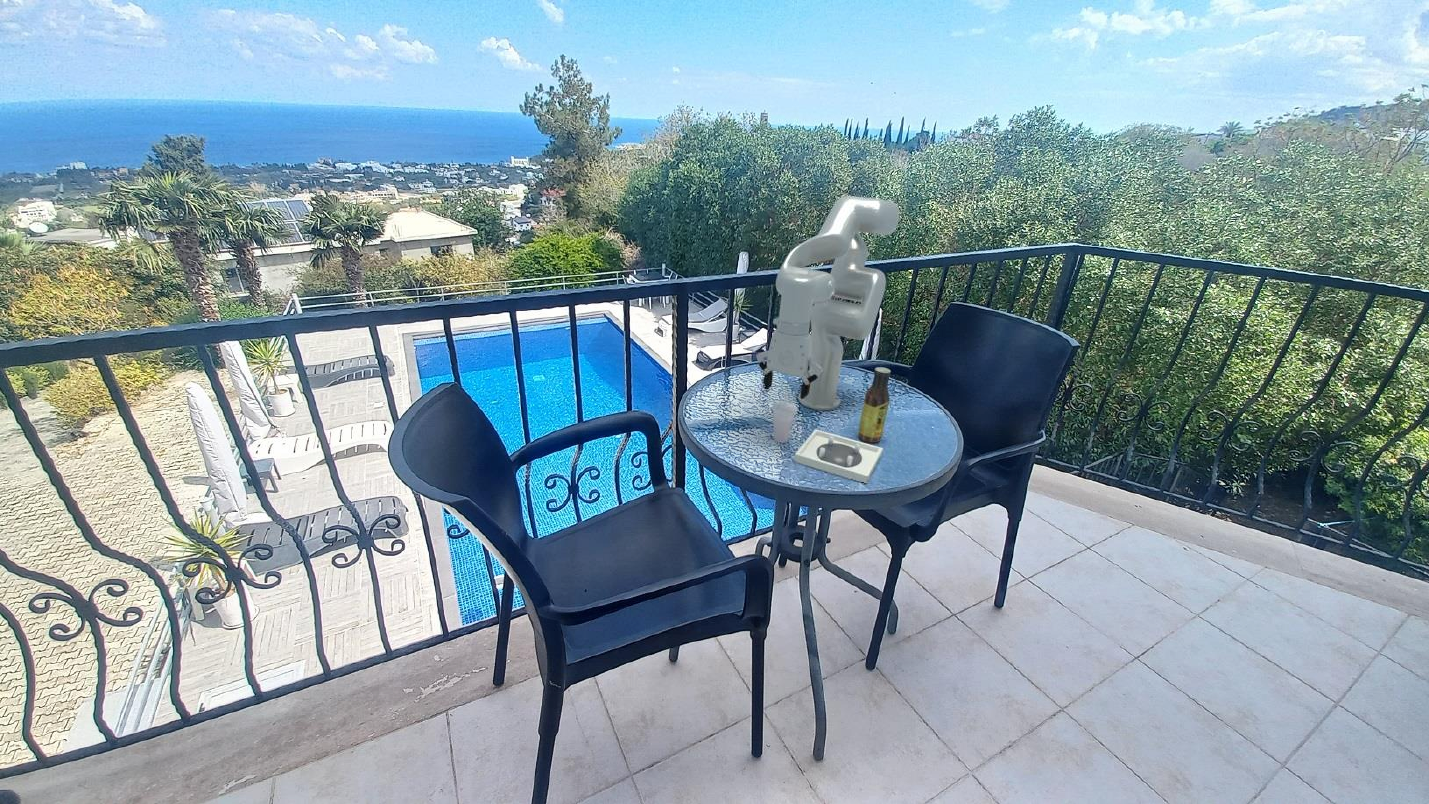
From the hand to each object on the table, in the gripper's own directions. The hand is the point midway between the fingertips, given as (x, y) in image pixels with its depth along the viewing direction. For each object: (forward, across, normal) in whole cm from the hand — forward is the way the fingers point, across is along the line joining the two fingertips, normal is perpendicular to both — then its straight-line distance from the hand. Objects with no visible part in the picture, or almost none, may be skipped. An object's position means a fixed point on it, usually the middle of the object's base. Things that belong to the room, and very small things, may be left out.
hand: (785, 392), depth 136 cm
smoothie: (+14, 0, +1) cm, 14 cm away
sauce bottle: (+14, +20, +15) cm, 29 cm away
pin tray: (+14, +16, 0) cm, 21 cm away
